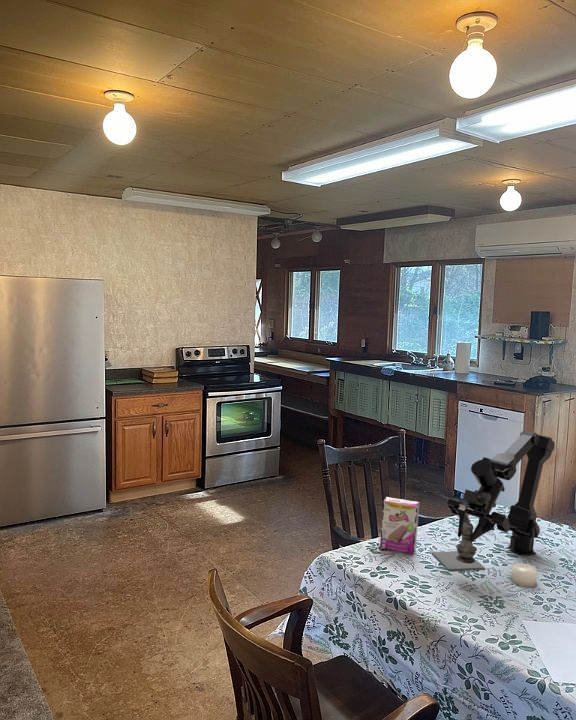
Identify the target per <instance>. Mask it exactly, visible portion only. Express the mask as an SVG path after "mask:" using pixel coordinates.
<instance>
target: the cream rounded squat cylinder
mask: <svg viewBox="0 0 576 720" xmlns="http://www.w3.org/2000/svg"><path fill="white" fill-rule="evenodd" d="M537 578H538V569H537V568H536V567H535V566H533V565H530V564H526V563H522V562H515V563H513V564H511V571H510V580H511V582H512V583H514V584H515V585H518V586H521V587H529V588H531V587H535V586H536V585H537Z"/></svg>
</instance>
